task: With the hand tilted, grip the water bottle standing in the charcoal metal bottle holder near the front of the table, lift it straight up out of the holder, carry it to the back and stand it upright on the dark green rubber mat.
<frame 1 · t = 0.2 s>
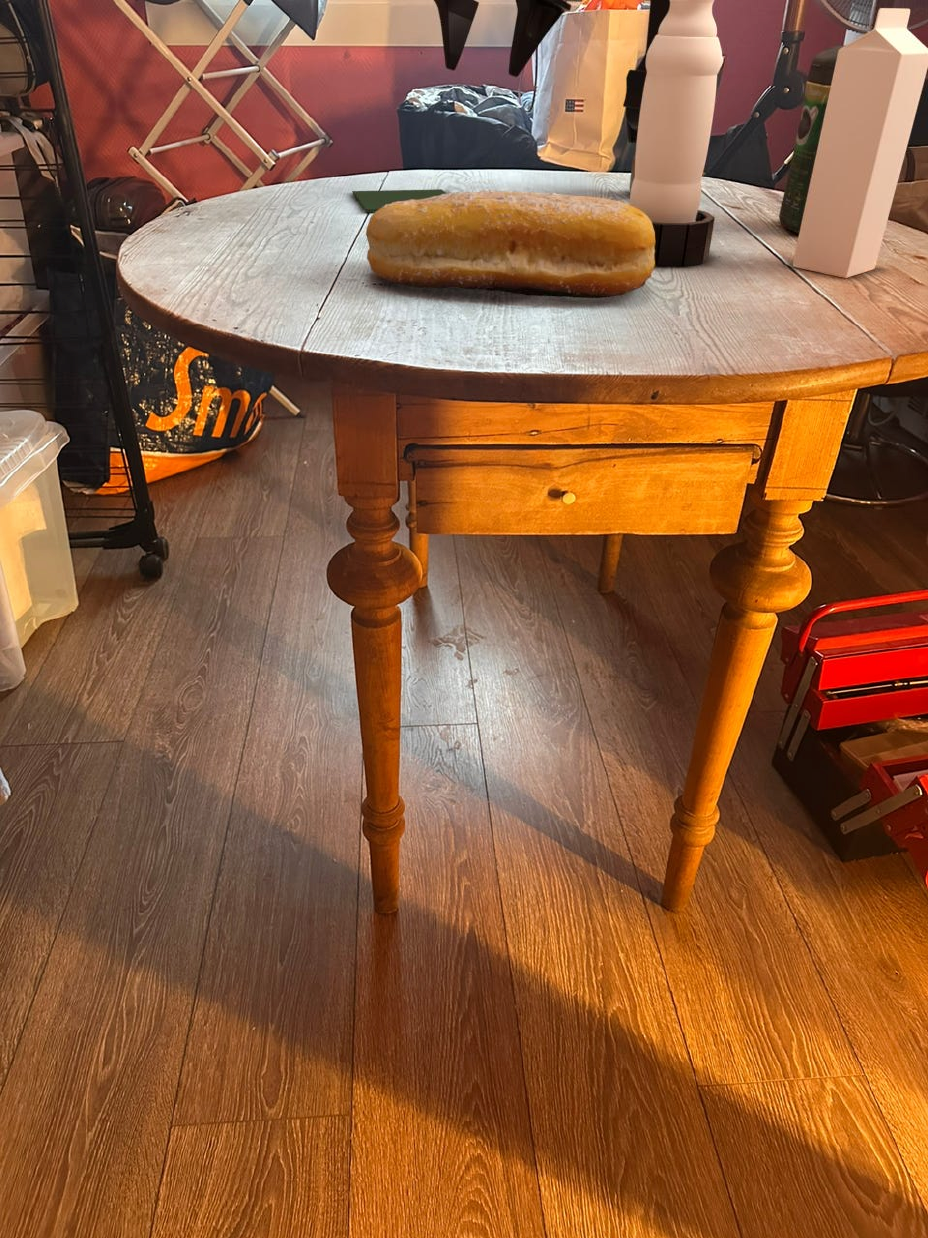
hand: (480, 72, 95), 15 cm above the table, tool pointing down, fingers open, 9 cm apart
holder: (657, 254, 97), on the table
water bottle: (657, 256, 97), resting in holder
bread: (507, 286, 86), on the table
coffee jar: (814, 231, 109), on the table
mat: (406, 201, 117), on the table
milk: (832, 269, 94), on the table
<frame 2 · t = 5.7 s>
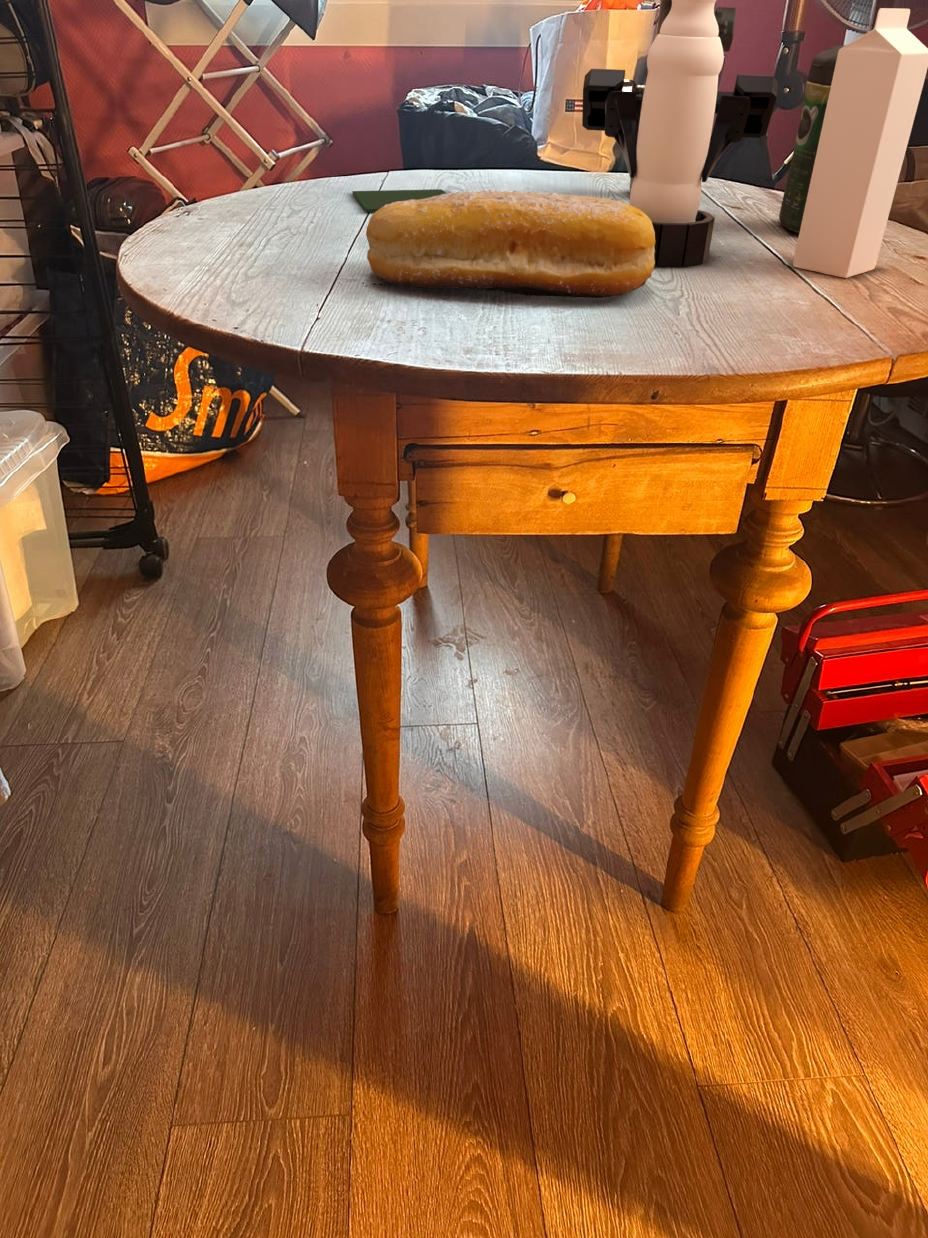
hand: (667, 177, 91), 8 cm above the table, tool tilted 45°, fingers closed on water bottle, 7 cm apart
water bottle: (656, 256, 97), resting in holder, touching gripper
everything else where it was.
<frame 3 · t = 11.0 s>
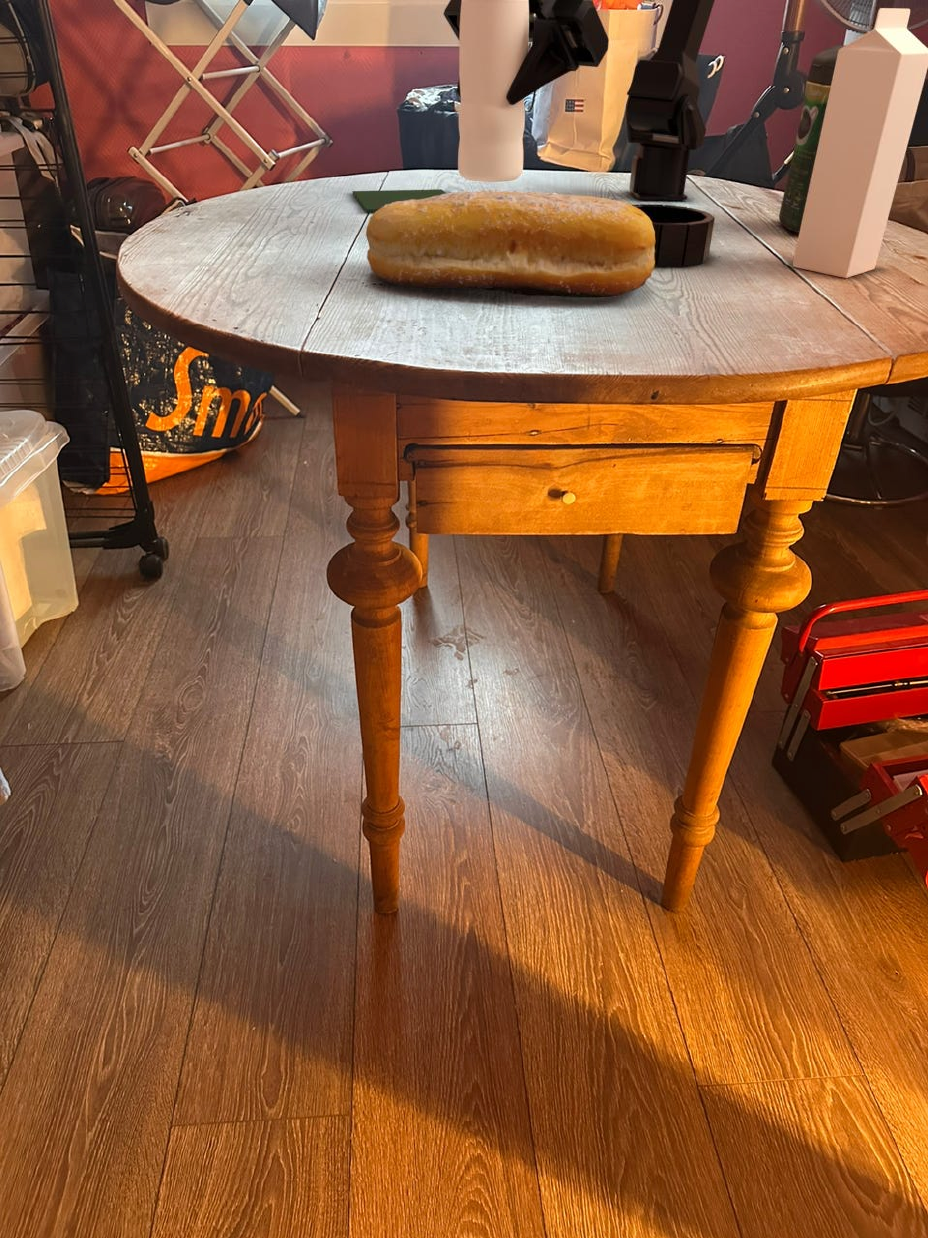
hand: (483, 98, 95), 13 cm above the table, tool tilted 45°, fingers closed on water bottle, 7 cm apart
water bottle: (490, 178, 101), point 5 cm above the table, touching gripper
everything else where it was.
when the fingers open (8 cm above the table, at t = 16.5 s): water bottle stays where it is, resting on mat.
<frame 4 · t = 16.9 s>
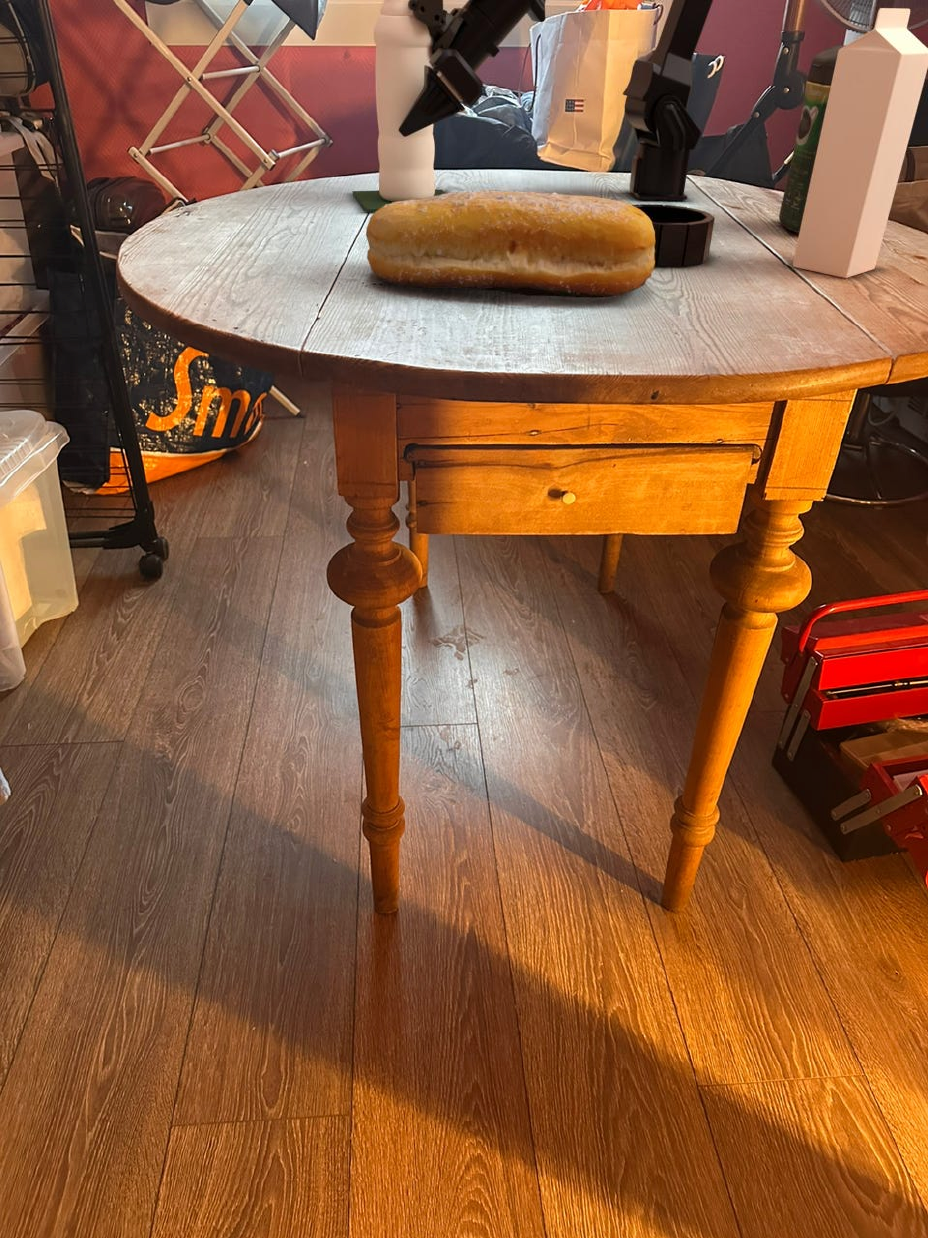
hand: (394, 128, 112), 8 cm above the table, tool tilted 45°, fingers open, 9 cm apart
water bottle: (407, 199, 117), resting on mat, touching gripper
everything else where it was.
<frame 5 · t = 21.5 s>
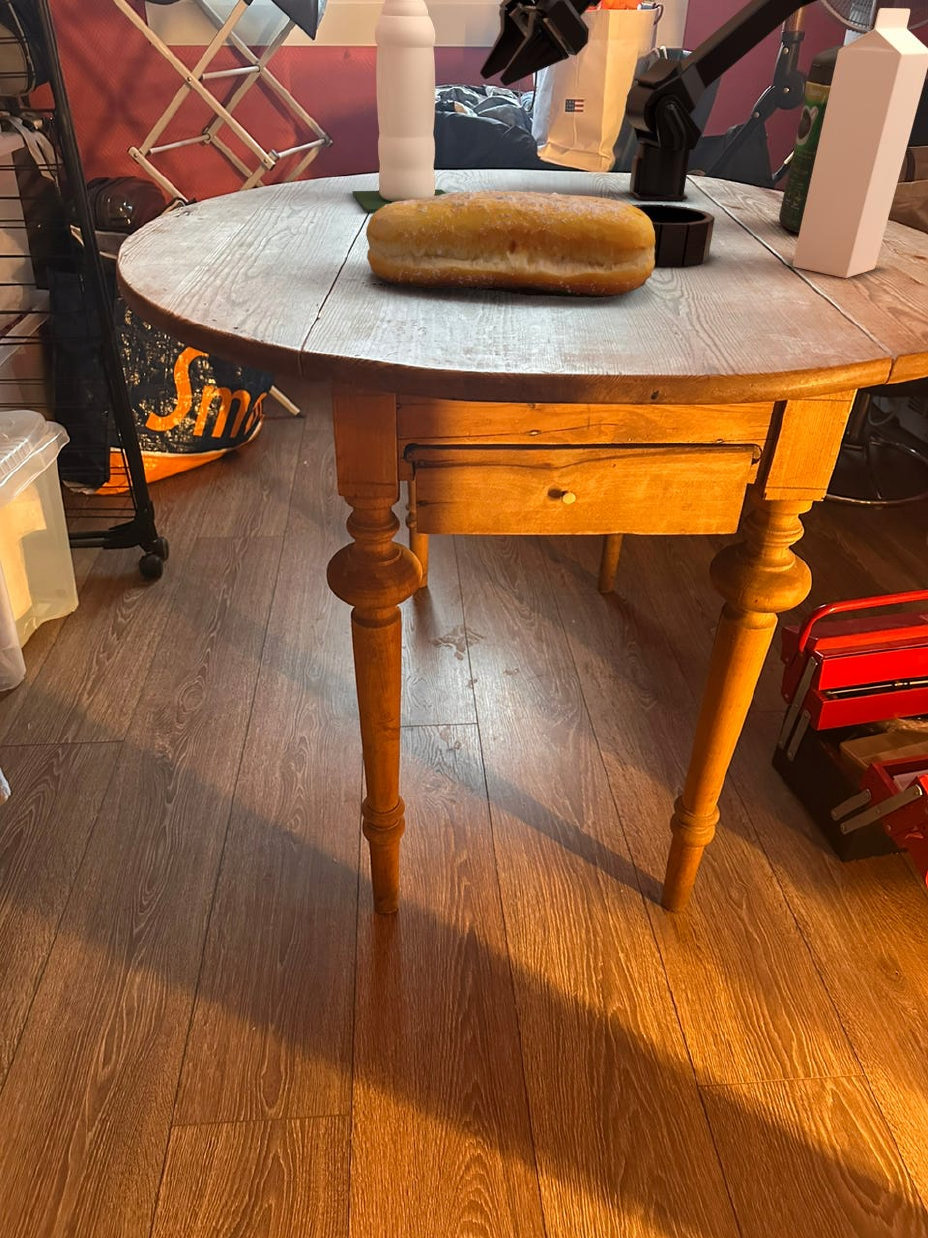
hand: (491, 79, 111), 14 cm above the table, tool tilted 45°, fingers open, 9 cm apart
water bottle: (407, 199, 117), resting on mat
everything else where it was.
at the end: water bottle inside the target area on the mat (0.1 cm from its centre), point 0.2 cm above the mat's base; water bottle tilted 0°; water bottle moved 37.5 cm from its start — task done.
